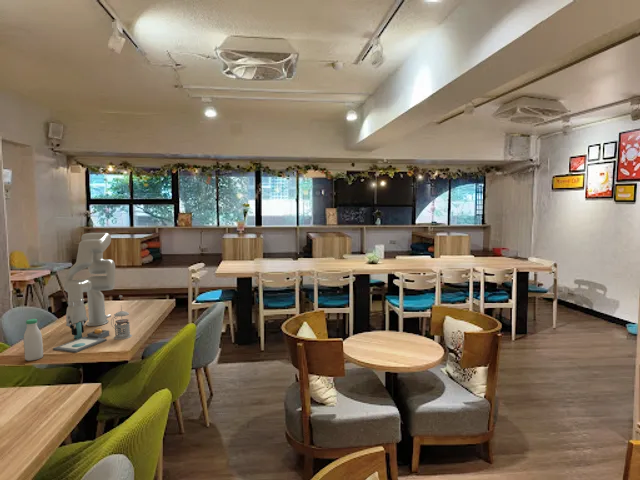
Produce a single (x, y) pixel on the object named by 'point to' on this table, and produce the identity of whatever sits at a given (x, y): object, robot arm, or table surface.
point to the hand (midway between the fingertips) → (77, 333)
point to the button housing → (100, 335)
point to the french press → (121, 326)
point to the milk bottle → (33, 341)
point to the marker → (78, 331)
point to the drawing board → (79, 344)
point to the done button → (97, 331)
